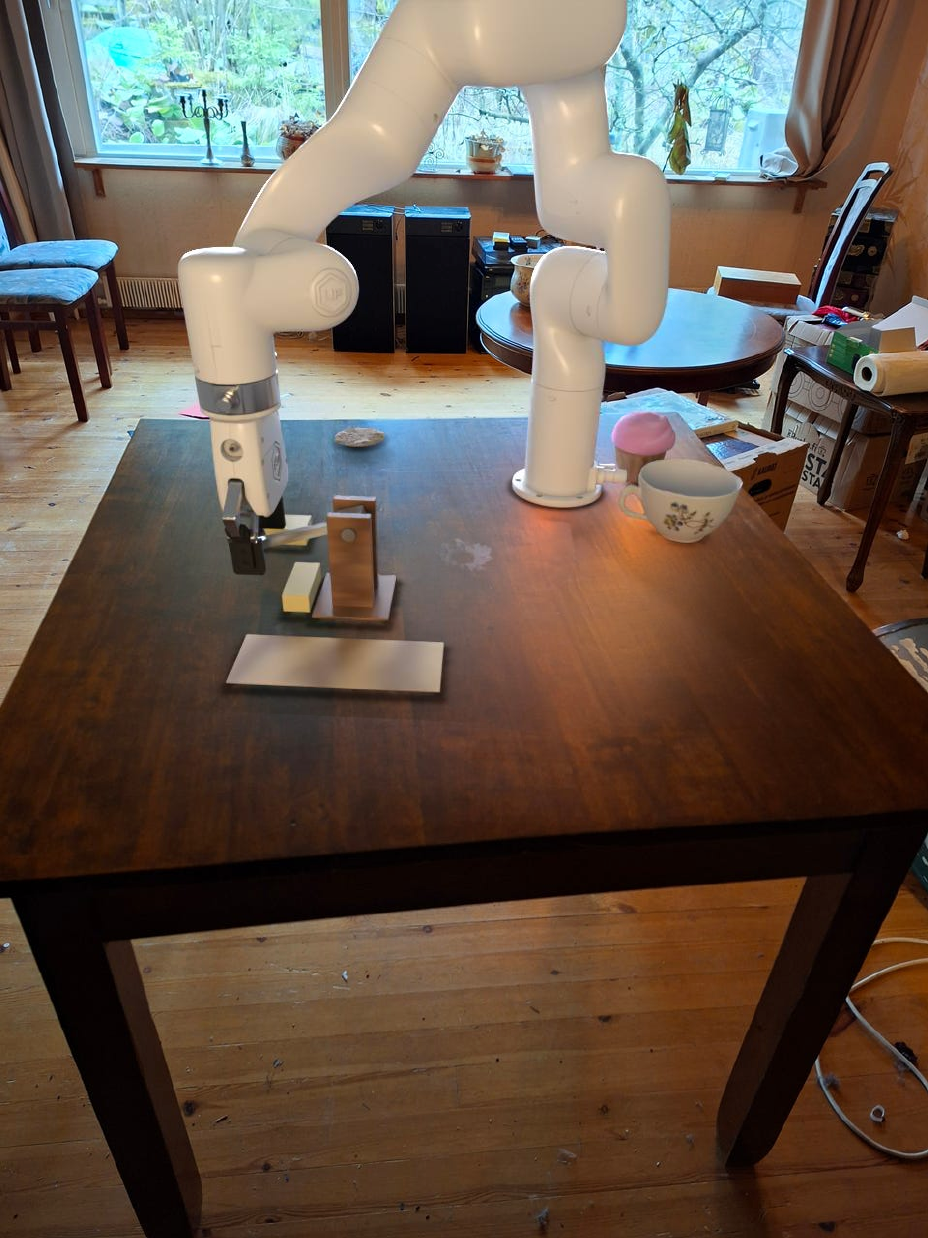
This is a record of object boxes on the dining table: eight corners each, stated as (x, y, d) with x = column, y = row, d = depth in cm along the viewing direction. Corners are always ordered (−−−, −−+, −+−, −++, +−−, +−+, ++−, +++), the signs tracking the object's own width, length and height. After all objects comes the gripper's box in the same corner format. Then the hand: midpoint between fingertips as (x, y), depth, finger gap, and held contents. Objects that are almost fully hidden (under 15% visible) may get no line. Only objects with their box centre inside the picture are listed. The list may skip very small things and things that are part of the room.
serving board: (443, 650, 84) (444, 642, 84) (439, 700, 78) (439, 691, 77) (247, 642, 85) (246, 634, 84) (226, 691, 78) (225, 682, 77)
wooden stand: (312, 625, 87) (304, 525, 81) (326, 581, 95) (320, 486, 88) (388, 628, 87) (386, 528, 81) (396, 584, 95) (395, 489, 88)
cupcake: (679, 485, 120) (691, 418, 114) (629, 495, 117) (640, 427, 111) (642, 462, 127) (652, 398, 121) (594, 471, 123) (602, 405, 118)
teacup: (709, 510, 113) (721, 455, 109) (744, 555, 103) (759, 496, 99) (601, 512, 112) (609, 456, 107) (626, 558, 102) (636, 498, 97)
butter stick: (321, 585, 94) (320, 562, 92) (310, 619, 88) (308, 596, 87) (297, 584, 94) (295, 561, 92) (284, 618, 88) (281, 594, 87)
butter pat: (313, 536, 104) (311, 515, 102) (307, 552, 100) (305, 530, 99) (273, 535, 104) (270, 513, 102) (265, 550, 100) (263, 528, 99)
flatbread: (364, 427, 135) (364, 421, 134) (394, 440, 130) (394, 434, 130) (323, 439, 130) (323, 433, 129) (354, 454, 126) (353, 447, 125)
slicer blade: (246, 567, 86) (236, 547, 85) (257, 544, 90) (248, 525, 89) (365, 540, 84) (358, 520, 83) (371, 518, 88) (364, 498, 87)
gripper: (257, 426, 71) (279, 594, 81) (296, 364, 86) (311, 513, 95) (170, 424, 71) (202, 592, 81) (224, 362, 86) (246, 511, 95)
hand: (261, 549), depth 88 cm, fingers open, 9 cm apart
